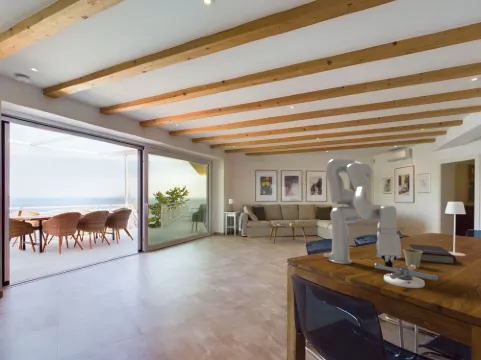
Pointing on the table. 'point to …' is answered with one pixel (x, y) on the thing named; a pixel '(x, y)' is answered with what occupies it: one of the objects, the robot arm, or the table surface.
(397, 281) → the stand
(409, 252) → the flower pot
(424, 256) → the book
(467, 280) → the table surface
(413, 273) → the capstan
